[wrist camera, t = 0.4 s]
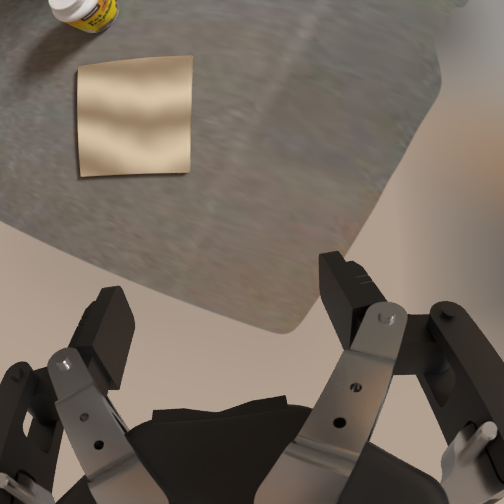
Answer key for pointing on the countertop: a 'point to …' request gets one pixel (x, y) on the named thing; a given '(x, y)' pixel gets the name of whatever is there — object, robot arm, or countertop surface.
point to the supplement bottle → (86, 13)
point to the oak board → (135, 116)
